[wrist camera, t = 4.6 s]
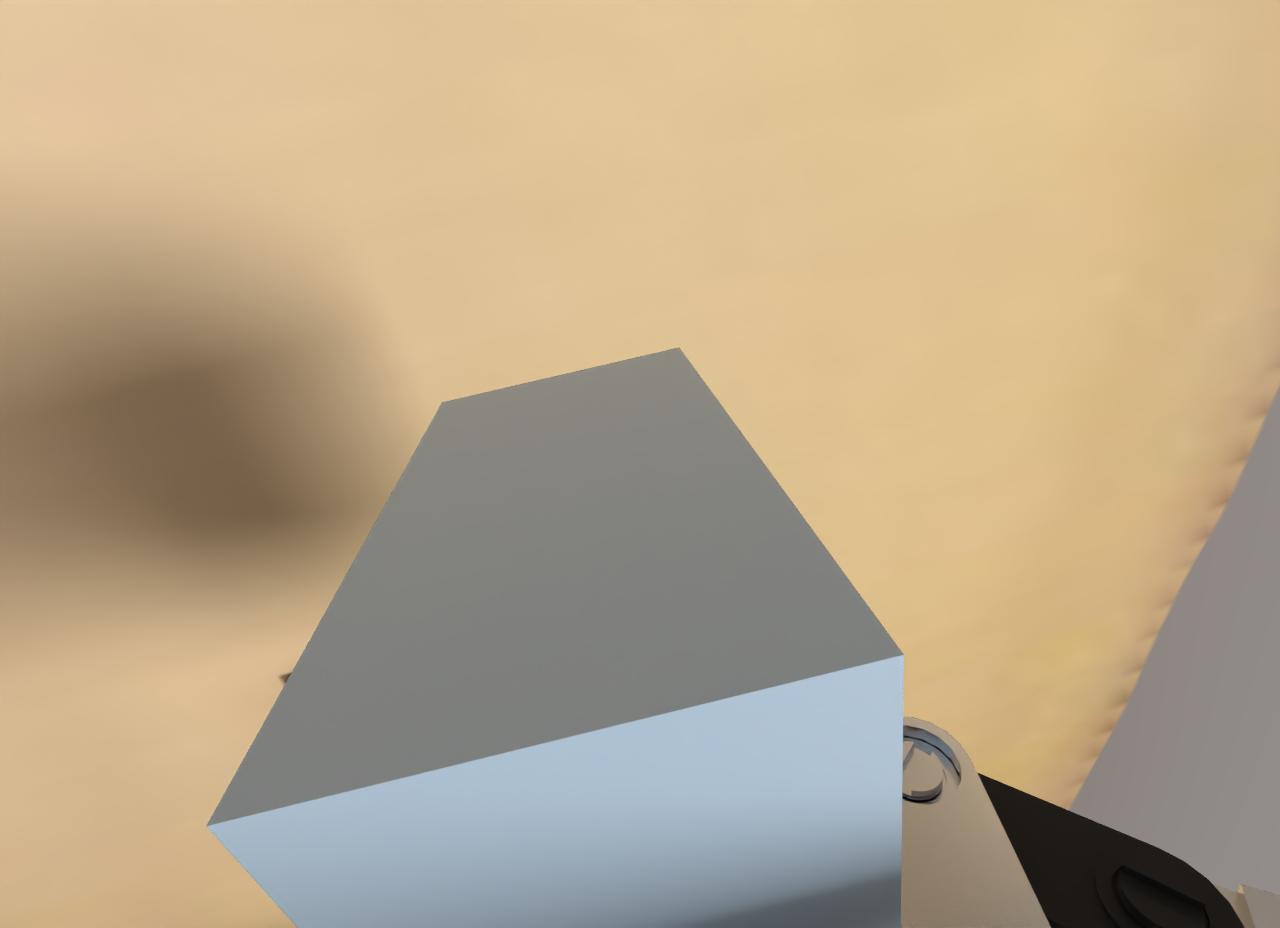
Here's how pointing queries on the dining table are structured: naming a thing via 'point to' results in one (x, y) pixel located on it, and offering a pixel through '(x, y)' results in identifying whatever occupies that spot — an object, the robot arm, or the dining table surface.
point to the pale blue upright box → (584, 688)
